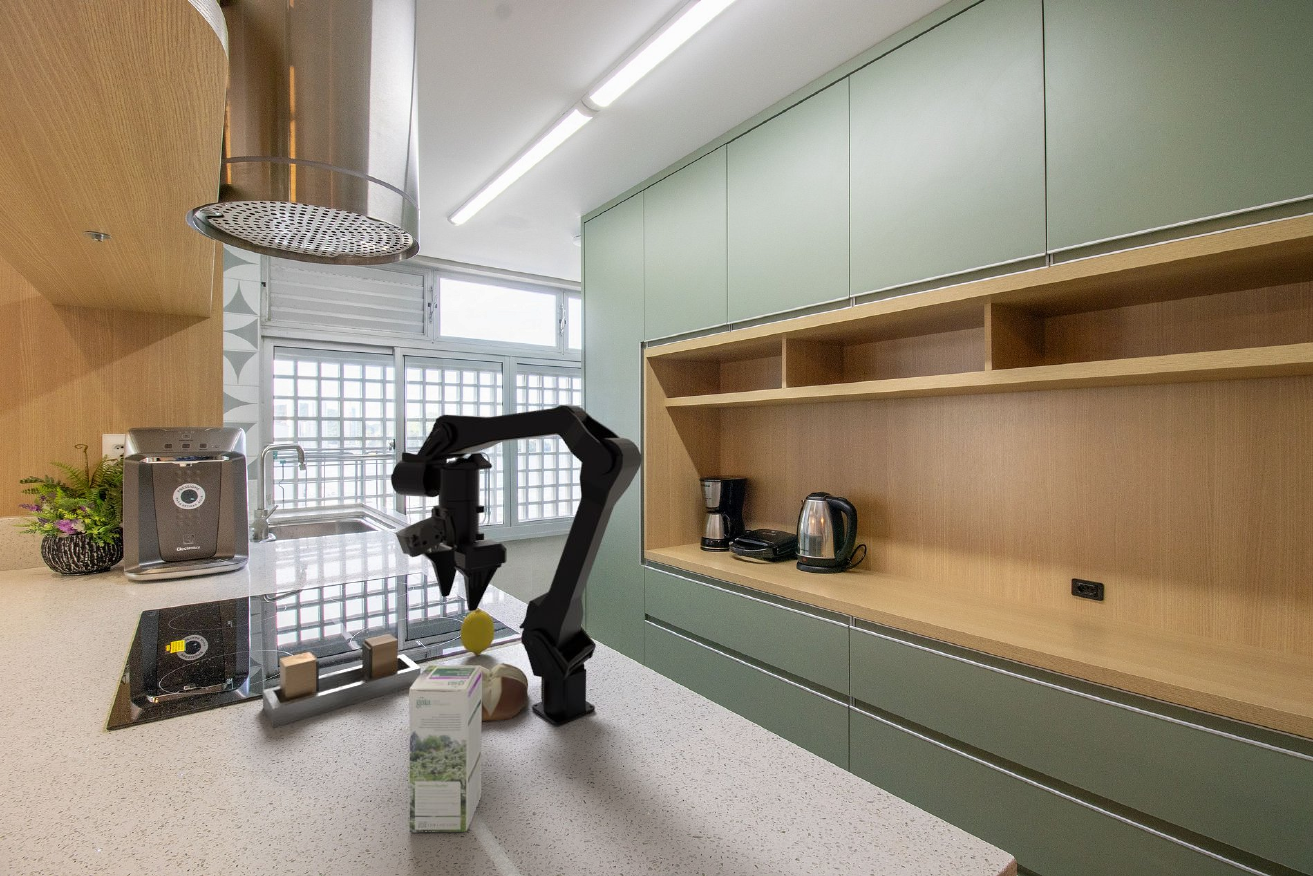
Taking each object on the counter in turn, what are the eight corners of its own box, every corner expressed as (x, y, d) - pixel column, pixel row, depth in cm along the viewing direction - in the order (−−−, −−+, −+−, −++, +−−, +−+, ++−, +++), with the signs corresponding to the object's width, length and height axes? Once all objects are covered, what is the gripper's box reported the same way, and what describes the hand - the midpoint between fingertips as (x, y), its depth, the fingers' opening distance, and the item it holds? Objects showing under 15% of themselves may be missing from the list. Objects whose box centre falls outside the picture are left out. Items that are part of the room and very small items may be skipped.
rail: (420, 684, 88) (420, 638, 88) (273, 727, 75) (273, 674, 75) (403, 669, 93) (403, 626, 93) (263, 708, 80) (262, 658, 80)
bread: (530, 685, 88) (530, 653, 88) (524, 723, 77) (525, 687, 77) (455, 689, 87) (455, 656, 87) (438, 729, 75) (438, 691, 75)
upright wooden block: (397, 679, 87) (397, 640, 87) (369, 687, 84) (369, 646, 84) (389, 671, 90) (389, 633, 90) (361, 679, 87) (361, 640, 87)
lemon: (473, 664, 95) (473, 616, 95) (453, 656, 99) (454, 609, 98) (500, 654, 100) (501, 608, 99) (481, 646, 103) (481, 602, 103)
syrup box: (483, 796, 62) (483, 662, 61) (466, 835, 56) (467, 687, 55) (429, 797, 61) (429, 662, 61) (406, 836, 55) (407, 687, 55)
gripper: (380, 497, 87) (380, 599, 87) (430, 511, 73) (429, 632, 74) (452, 491, 95) (451, 586, 95) (508, 504, 81) (508, 614, 81)
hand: (458, 603), depth 86 cm, fingers open, 9 cm apart
